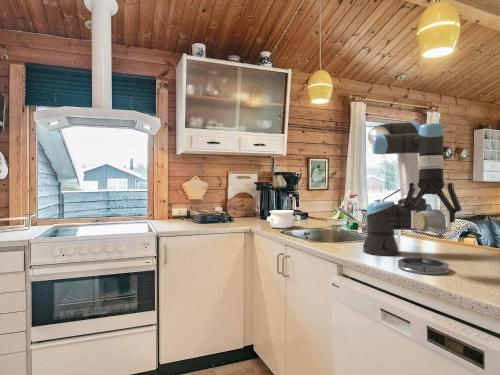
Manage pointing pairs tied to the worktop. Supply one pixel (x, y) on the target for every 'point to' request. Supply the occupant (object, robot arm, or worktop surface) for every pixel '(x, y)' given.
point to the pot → (281, 218)
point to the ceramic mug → (430, 221)
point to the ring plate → (423, 266)
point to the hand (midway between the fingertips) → (430, 229)
